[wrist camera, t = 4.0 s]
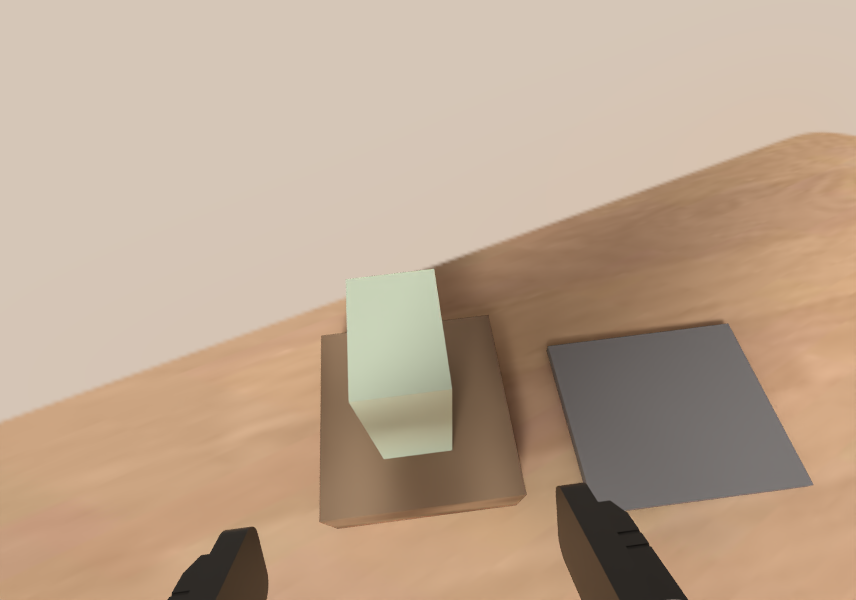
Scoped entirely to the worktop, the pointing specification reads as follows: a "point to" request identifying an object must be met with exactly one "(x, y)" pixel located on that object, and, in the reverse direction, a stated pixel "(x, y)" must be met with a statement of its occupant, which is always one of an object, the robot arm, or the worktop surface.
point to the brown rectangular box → (426, 473)
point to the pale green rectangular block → (399, 363)
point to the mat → (671, 419)
